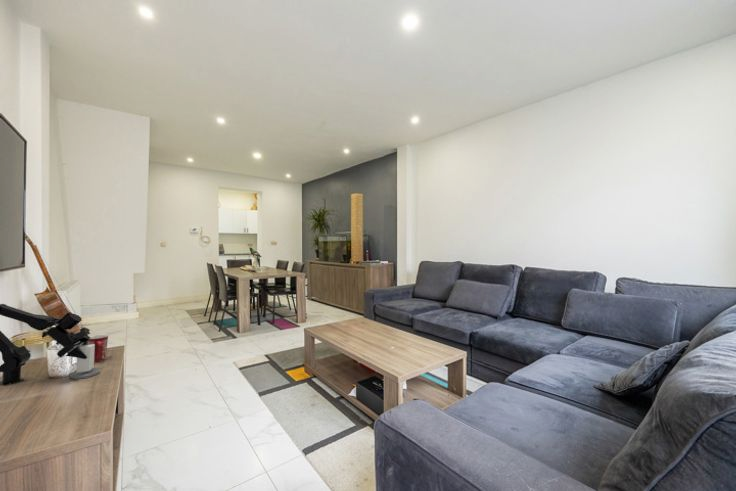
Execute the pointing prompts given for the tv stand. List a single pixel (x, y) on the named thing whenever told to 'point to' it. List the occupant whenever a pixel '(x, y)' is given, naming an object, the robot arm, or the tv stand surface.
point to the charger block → (86, 363)
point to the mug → (99, 346)
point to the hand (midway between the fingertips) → (89, 356)
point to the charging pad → (84, 374)
